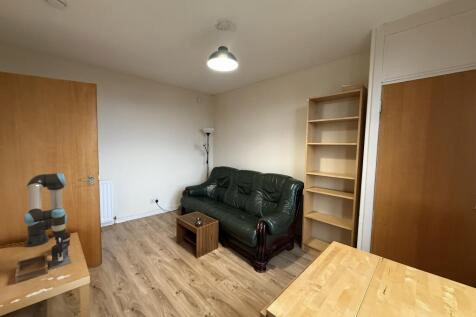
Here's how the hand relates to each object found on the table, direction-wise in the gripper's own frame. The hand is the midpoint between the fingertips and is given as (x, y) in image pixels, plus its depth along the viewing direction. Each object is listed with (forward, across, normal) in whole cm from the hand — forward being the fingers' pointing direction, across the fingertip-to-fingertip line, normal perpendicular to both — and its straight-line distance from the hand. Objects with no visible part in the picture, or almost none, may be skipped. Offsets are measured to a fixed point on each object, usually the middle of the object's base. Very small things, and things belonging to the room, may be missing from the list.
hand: (60, 257), depth 156 cm
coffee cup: (+4, -19, +3) cm, 20 cm away
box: (+1, 0, 0) cm, 1 cm away
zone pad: (+4, 0, 0) cm, 4 cm away
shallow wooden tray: (+4, 0, -15) cm, 16 cm away
